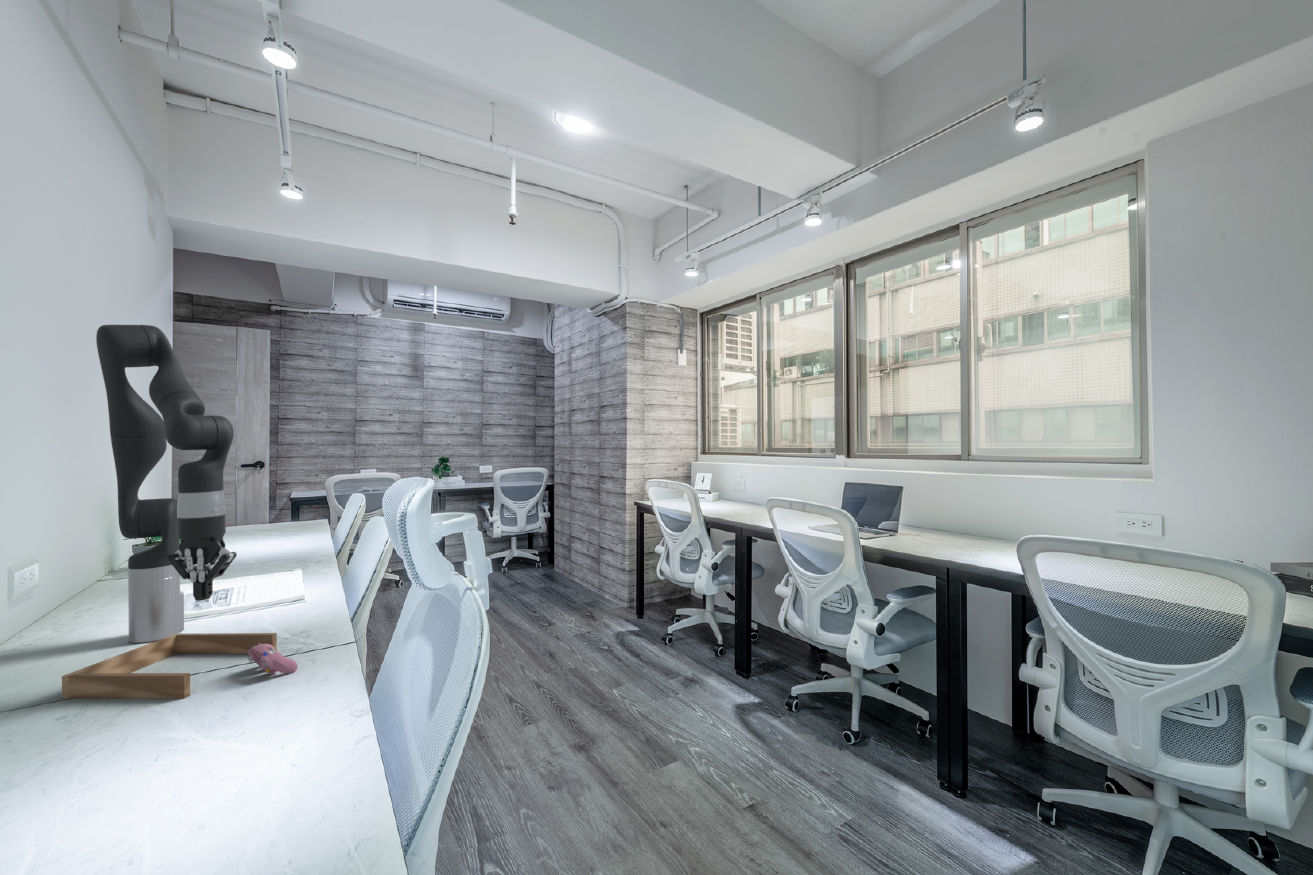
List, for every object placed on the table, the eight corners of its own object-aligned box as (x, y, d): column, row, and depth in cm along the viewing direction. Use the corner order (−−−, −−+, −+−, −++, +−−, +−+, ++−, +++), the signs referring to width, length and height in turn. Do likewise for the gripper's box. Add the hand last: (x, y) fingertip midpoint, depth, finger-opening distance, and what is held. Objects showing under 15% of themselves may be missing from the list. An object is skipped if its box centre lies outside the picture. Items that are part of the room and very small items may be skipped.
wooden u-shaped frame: (176, 651, 121) (176, 633, 122) (276, 651, 120) (276, 633, 120) (61, 698, 99) (61, 676, 99) (184, 698, 98) (184, 675, 98)
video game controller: (256, 675, 111) (238, 649, 109) (279, 658, 115) (261, 633, 112) (278, 686, 106) (259, 659, 103) (301, 668, 109) (283, 641, 107)
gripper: (248, 511, 114) (249, 594, 114) (186, 511, 114) (187, 594, 114) (218, 516, 106) (219, 605, 106) (152, 516, 107) (153, 605, 107)
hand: (202, 599), depth 110 cm, fingers closed
